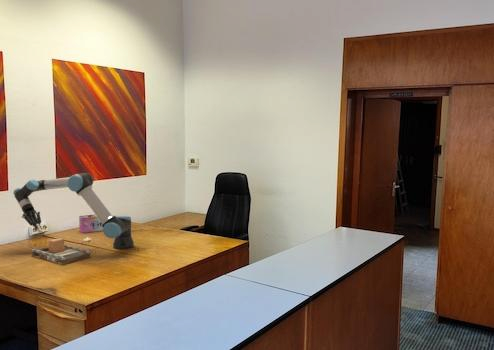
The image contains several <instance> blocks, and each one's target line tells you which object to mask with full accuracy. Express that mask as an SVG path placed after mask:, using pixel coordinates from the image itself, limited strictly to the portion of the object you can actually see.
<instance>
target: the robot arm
mask: <svg viewBox="0 0 494 350" xmlns="http://www.w3.org/2000/svg"><path fill="white" fill-rule="evenodd" d="M93 184H94V177H93V176H92V175H91V174H90V173H88V172H82V173H76V174H73V175H71V176H69V177H60V178H51V179H42V180H37V179H33V178H31V179H29V180H28V181H27V182H26V183H24V185H23V186H22V187H17V188H15V189H14V190H13V196H14V198H15V199H16V201H17V203H18V205H19V206H20V209H21V211H22V212H23V214H22V216H21V218H23V219H24V221H26V222H27V223H28V225H29V226H31V227H34V229H35V230H37V232H38V234H41V233H42V232H43V229H42V225H41V224H42V219H41V212H40V211H37V210H35V208H34V206H33V204H32V202H31V200H30V198H29V196H31V195H32V194H33V193H35V192H41V191H47V190H48V191H49V190H56V189H65V188H68V189H69V190H70V191H71V192H75V193H76V194H77V196H80V197H82V199H83V200H84V201H85V203H86V205H88V206H89V208H90V209H91V211H92V212H93V213H94V215H96V216H97V217H98V218H99V219H100V221H101V222H102V224H101V226H102V227H103V231H102V232H103V234H104V236H105V237H107V238H109V239H114V240H113V244H112V248H113V249H115V250H116V249H117V250H127V249H131V248H133V247H134V246H135V242H134V240H133V236H132V217H131V216H128V215H118V216H117V215H113V214H112V213H111V212H110V210H109V209H108V208H107V207H106V206H105V204H104V203H103V201H102V200H101V199H100V197H99V196H98V195H97V194H96V192H95V191H94V190H93Z"/></svg>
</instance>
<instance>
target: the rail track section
mask: <svg viewBox="0 0 494 350" xmlns="http://www.w3.org/2000/svg"><path fill="white" fill-rule="evenodd" d="M64 249H65V250H64V251H60V252H56V253H52V252H49V246H47V247H45V248H41V249H36V248H32V250H31V254H32V256H33V257H34V256H37V257H39V259H43V260H46V261H50V262H54V263H59V264H61V265H67V264H70V263H74V262H78V261H81V260H86V259H90V257H91V253H90V250H87V249H83V248H80V247H76V246H72V245H68V244H64Z"/></svg>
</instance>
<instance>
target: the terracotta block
mask: <svg viewBox="0 0 494 350" xmlns="http://www.w3.org/2000/svg"><path fill="white" fill-rule="evenodd" d="M64 245H65V239H64V238H60V237H58V238H53V239H48V247H49V252H52V253H56V252H60V251H64V250H65V249H64Z"/></svg>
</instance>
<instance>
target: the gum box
mask: <svg viewBox="0 0 494 350" xmlns="http://www.w3.org/2000/svg"><path fill="white" fill-rule="evenodd" d="M78 218H79V219H78V220H79V221H78V223H79V233H81V234H85V233H93V232H95V233H97V232H103V227H102V226H101V224H102V222H101V221H100V219H99V218H98V217H97V216H96V214H89V215H79V216H78Z"/></svg>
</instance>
